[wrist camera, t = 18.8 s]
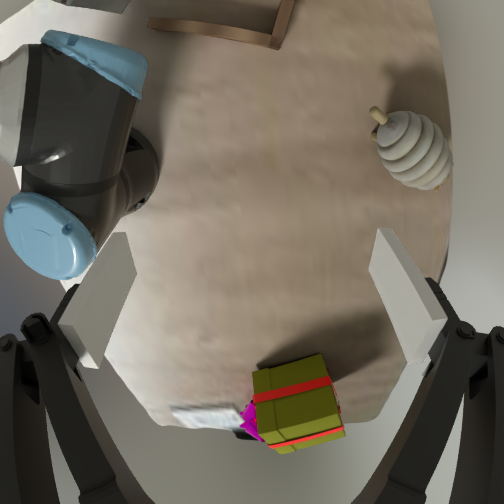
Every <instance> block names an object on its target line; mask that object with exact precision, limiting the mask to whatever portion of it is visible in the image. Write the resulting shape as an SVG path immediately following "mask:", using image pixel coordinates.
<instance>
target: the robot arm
mask: <svg viewBox="0 0 504 504" xmlns="http://www.w3.org/2000/svg"><path fill="white" fill-rule="evenodd" d="M41 42H42V43H41V44H23V45H22V46H20V47H19V48H18V49H17V50H16V51H15V52H14V53H12V54H11V55H10V56H9V57H8V58H7V59H5V60H3V61H0V159H1V160H2V161H3V162H4V163H5V164H6V165H7V166H8V167H15V166H22V178H21V191H20V193H18V194H16V195H14V196H13V197H12V198H11V201H10V203H9V204H8V205H7V207H6V209H5V212H4V229H5V233H6V236H7V238H8V240H9V243H10V244H11V246H12V248H13V249H14V251H15V252H16V254H17V255H18V256H19V257H20V258H21V259H22V260H23V261H24V262H25V263H26V264H27V265H28V266H29V267H31V268H32V269H33V270H35V271H36V272H38V273H40V274H42V275H44V276H46V277H49V278H52V279H57V280H68V279H72V278H74V277H78V276H79V275H81V274H82V273H83V272H84V271H85V270H86V268H87V267H88V266H89V265H90V264H91V263H92V262H93V261H94V260H95V261H94V262H93V264H92V266H91V267H90V269H89V270H88V272H87V274H86V275H85V277H84V278H83V280H82V282H81V283H80V284H75V285H73V286H72V287H71V288H70V289H69V290H68V291H67V293H66V294H65V296H64V298H63V300H62V301H61V303H60V306H58V308H57V310H56V312H55V313H54V315H53V317H52V318H51V320H50V322H48V320H47V318H46V317H45V315H44V314H42V313H34V314H31V315H30V316H28V317H27V318H26V319H25V320H24V321H23V323H22V325H21V332H22V333H23V335H24V336H25V338H26V339H27V340H23V341H18V339H17V338H16V337H15V335H13V334H6V335H4V336H3V337H1V338H0V504H60V501H59V497H58V493H57V488H56V483H55V479H54V473H53V468H52V462H51V455H50V449H49V441H48V432H47V423H46V411H45V406H46V409H47V412H48V415H49V418H50V421H51V424H52V427H53V429H54V432H55V435H56V438H57V440H58V443H59V445H60V448H61V450H62V453H63V455H64V457H65V460H66V462H67V464H68V466H69V469H70V471H71V473H72V475H73V477H74V480H75V482H76V484H77V486H78V487H79V490H80V496H79V497H78V498H79V503H80V504H155V503H154V502H153V501H152V500H151V499H150V498H149V497H148V495H147V494H146V493H145V492H144V491H143V489H142V487H141V486H140V484H139V483H138V481H137V480H136V478H135V477H134V475H133V474H132V472H131V471H130V469H129V467H128V466H127V464H126V462H125V461H124V459H123V457H122V456H121V454H120V452H119V450H118V449H117V447H116V445H115V444H114V442H113V440H112V438H111V436H110V434H109V433H108V431H107V429H106V427H105V425H104V423H103V421H102V419H101V417H100V415H99V413H98V411H97V409H96V407H95V405H94V403H93V400H92V398H91V396H90V394H89V392H88V389H87V387H86V385H85V383H84V380H83V378H82V376H81V373H80V371H79V369H78V367H77V366H76V365H77V362H78V360H79V359H80V361H81V362H82V364H83V365H84V367H90V368H97V369H99V366H100V364H101V361H102V358H103V355H104V353H105V350H106V347H107V345H108V342H109V340H110V337H111V334H112V332H113V329H114V327H115V324H116V322H117V319H118V317H119V314H120V312H121V310H122V307H123V305H124V302H125V300H126V298H127V295H128V293H129V291H130V288H131V286H132V284H133V282H134V279H135V277H136V275H137V272H136V268H135V265H134V261H133V258H132V254H131V251H130V247H129V243H128V239H127V235H126V232H116V233H112V235H111V236H110V238H109V239H108V241H107V242H106V244H105V245H104V247H103V248H102V250H101V251H100V253H99V255H98V256H97V258H96V255H97V253H98V252H99V250H100V248H101V247H102V245H103V244H104V242H105V241H106V239H107V238H108V236H109V235H110V233H111V232H112V230H113V229H114V228H115V226H116V225H117V223H118V222H119V220H120V219H121V217H124V216H126V215H128V214H130V213H133V212H135V211H136V210H138V209H139V208H141V207H142V206H143V205H144V204H145V203H146V202H147V200H148V199H149V198H150V196H151V195H152V193H153V191H154V190H155V187H156V185H157V181H158V176H159V166H158V160H157V156H156V154H155V151H154V149H153V147H152V145H151V144H150V142H149V141H148V140H147V139H146V138H145V137H144V136H143V135H142V134H141V133H140V132H138V131H137V130H135V129H134V128H131V127H132V123H133V120H134V116H135V112H136V109H137V106H138V102H139V100H141V99H142V94H141V92H142V88H143V85H144V81H145V77H146V74H147V70H148V64H147V61H146V59H145V57H144V56H143V55H142V54H140V53H138V52H136V51H133V50H130V49H127V48H124V47H121V46H118V45H114V44H111V43H107V42H104V41H100V40H96V39H92V38H88V37H84V36H79V35H75V34H70V33H66V32H61V31H56V30H48V31H47V32H46V33H45V34H44V36H43V37H42V38H41ZM95 258H96V259H95ZM369 272H370V274H371V276H372V279H373V281H374V283H375V285H376V287H377V290H378V292H379V294H380V296H381V299H382V301H383V303H384V306H385V308H386V310H387V313H388V315H389V317H390V320H391V322H392V324H393V327H394V329H395V332H396V334H397V337H398V339H399V342H400V344H401V347H402V349H403V352H404V355H405V357H406V360H407V363H408V365H410V364H417V363H422V362H424V360H425V358H426V357H427V355H428V354H429V356H430V359H431V362H430V363H429V365H428V366H427V368H426V369H425V371H424V373H423V374H422V375H423V376H424V377H423V380H422V382H421V384H420V386H419V389H418V391H417V393H416V395H415V398H414V400H413V402H412V404H411V406H410V408H409V410H408V412H407V414H406V417H405V418H404V421H403V422H402V424H401V426H400V428H399V430H398V432H397V434H396V436H395V438H394V439H393V441H392V443H391V445H390V447H389V448H388V450H387V452H386V454H385V455H384V457H383V459H382V461H381V462H380V464H379V466H378V467H377V469H376V470H375V472H374V473H373V475H372V477H371V478H370V480H369V481H368V483H367V484H366V486H365V487H364V489H363V490H362V491H361V493H360V494H359V495H358V496H357V497H356V498H355V499H354V500H353V502H352V503H351V504H425V502H426V494H425V490H426V488H427V485H428V483H429V481H430V479H431V477H432V475H433V473H434V471H435V469H436V467H437V464H438V462H439V460H440V458H441V455H442V453H443V451H444V448H445V446H446V443H447V441H448V438H449V435H450V433H451V430H452V427H453V425H454V422H455V419H456V416H457V413H458V410H459V407H460V404H461V401H462V397H463V394H464V408H463V420H462V421H463V422H462V431H461V439H460V448H459V454H458V461H457V467H456V472H455V478H454V483H453V487H452V492H451V497H450V501H449V504H504V328H503V327H501V326H496V327H493V329H492V330H491V332H490V333H489V334H484V333H478V332H476V331H475V329H474V328H473V326H472V325H470V324H469V323H467V322H465V321H460V319H459V318H458V316H457V314H456V312H455V311H454V309H453V307H452V306H451V304H450V302H449V301H448V300H447V297H446V296H445V294H444V293H443V291H442V290H441V288H440V286H439V285H438V283H436V282H435V281H434V280H433V279H432V278H431V277H429V278H424V277H423V275H422V274H421V272H420V270H419V269H418V267H417V266H416V264H415V263H414V261H413V260H412V258H411V256H410V255H409V253H408V252H407V250H406V249H405V247H404V246H403V244H402V243H401V242H400V240H399V239H398V237H397V236H396V234H395V233H394V231H393V230H392V229H391V228H378V230H377V235H376V239H375V244H374V249H373V253H372V257H371V261H370V266H369Z"/></svg>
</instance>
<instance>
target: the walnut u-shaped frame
mask: <svg viewBox="0 0 504 504" xmlns="http://www.w3.org/2000/svg"><path fill="white" fill-rule="evenodd" d="M294 1H295V0H281V2H280V6H279V9H278V12H277V16H276V19H275V23H274V26H273V29H272V33H271V35H269V34H265V33H260V32H256V31H251V30H246V29H241V28H236V27H231V26H225V25H219V24H212V23H205V22H197V21H189V20H179V19H167V18H149V21H148V25H147V28H150V29H153V30H158V31H171V32H181V33H190V34H198V35H205V36H212V37H218V38H224V39H229V40H235V41H240V42H245V43H250V44H254V45H259V46H263V47H267V48H271V49H275V50H279V49H280V48H281V45H282V42H283V38H284V35H285V31H286V28H287V25H288V21H289V18H290V14H291V11H292V8H293V4H294Z"/></svg>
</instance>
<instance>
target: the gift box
mask: <svg viewBox="0 0 504 504" xmlns="http://www.w3.org/2000/svg"><path fill="white" fill-rule="evenodd" d="M328 372H329V370H328V368H327V367H326V366H325V363H324V360H323V357H322V354H317V355H314V356H311V357H308V358H305V359H302V360H299V361H295V362H292V363H289V364H285V365H282V366H278V367H275V368H271V369H269V368H266V369H262V370H258V371H254V372H252V375H253V386H254V395H253V400H251V401H250V403H249V404H248V405H246V408H245V410H244V411H243V412H240V415H242V417H243V419H244V420H245V422H244V423H242V424H241V425H240V428H245V431H246V433H249V434H250V435H252V436H253V437H255V438H256V439H258V440H259V441H261V442H265V441H266V442H267V444H268V446H269V447H270V448H274V449H275V450H276V451H277V452H279V454H285V453H289V452H294V451H296V450H297V449H301V448H305V447H309V446H313V445H317V444H321V443H324V442H328V441H332V440H335V439H338V438H341V437H345V436H346V435H345V431H344V425H343V424H342V421H343V420H341V417H342V416H340V413H341V410H340V406H339V405H337V402H336V399H338V398H335V394H336V391H335V389H334V386H333V384H332V380H331V379H330V377H329V375H328ZM329 374H330V373H329ZM332 386H333V387H332ZM333 389H334V391H333ZM334 392H335V394H334ZM336 396H337V394H336ZM338 403H339V402H338Z"/></svg>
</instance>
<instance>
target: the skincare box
mask: <svg viewBox="0 0 504 504" xmlns="http://www.w3.org/2000/svg"><path fill="white" fill-rule="evenodd" d="M53 1H55V2H58V3H61V4H64V5H67V6H75V7H83V8H90V9H96V10H102V11H108V12H113V13H118V14H121V13H122V12H123V10H124V9H125V7H126V6H127V4H128V3H129V1H130V0H53Z"/></svg>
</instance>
